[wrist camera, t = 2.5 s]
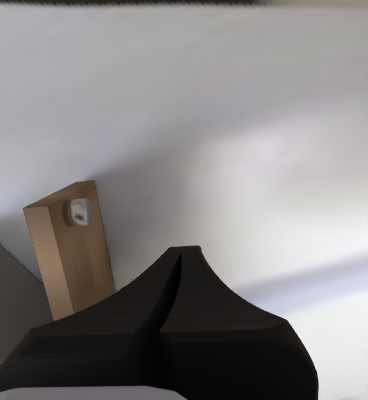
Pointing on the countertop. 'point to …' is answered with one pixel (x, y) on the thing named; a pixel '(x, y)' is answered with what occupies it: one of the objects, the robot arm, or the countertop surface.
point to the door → (71, 248)
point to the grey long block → (19, 303)
